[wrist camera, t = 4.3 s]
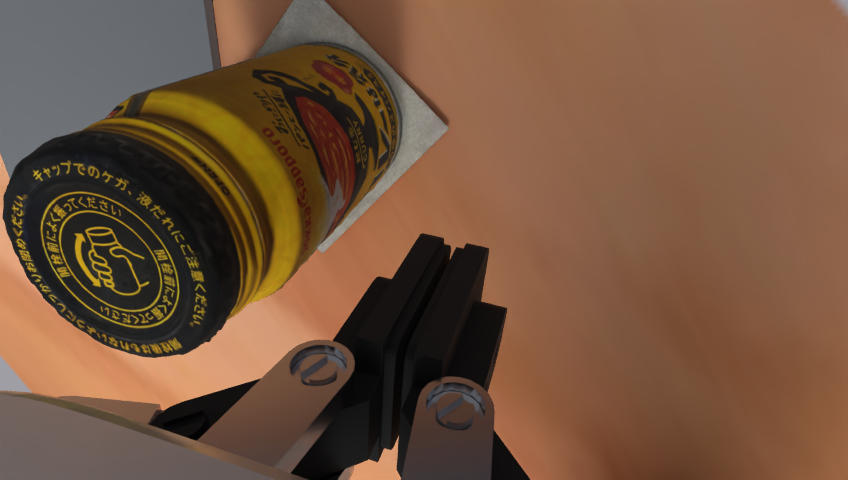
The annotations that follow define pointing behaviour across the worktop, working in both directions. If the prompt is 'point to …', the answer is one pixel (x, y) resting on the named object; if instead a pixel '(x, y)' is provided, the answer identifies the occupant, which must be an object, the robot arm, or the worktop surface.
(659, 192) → the worktop surface
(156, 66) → the mat
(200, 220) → the condiment
